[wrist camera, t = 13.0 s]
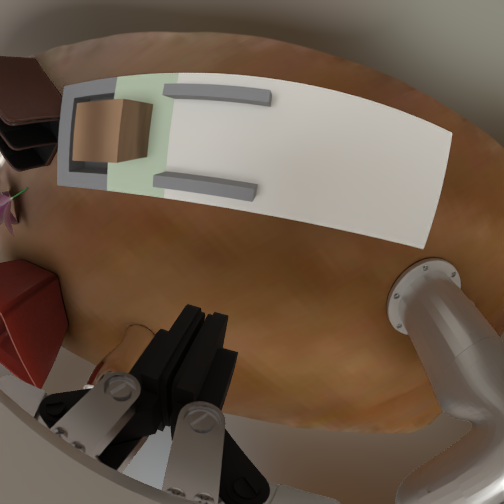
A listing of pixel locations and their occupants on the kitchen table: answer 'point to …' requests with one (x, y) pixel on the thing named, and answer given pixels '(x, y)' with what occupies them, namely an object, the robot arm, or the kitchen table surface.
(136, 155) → the walnut block
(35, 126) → the letter holder
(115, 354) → the beer glass
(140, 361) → the robot arm
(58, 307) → the plant pot
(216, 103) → the channel deck
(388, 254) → the kitchen table surface
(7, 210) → the lily
